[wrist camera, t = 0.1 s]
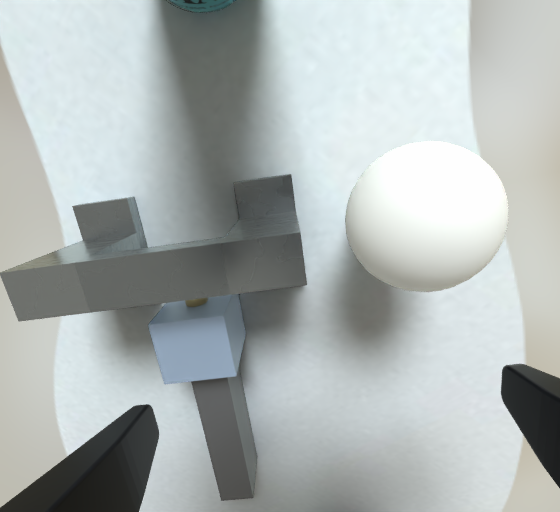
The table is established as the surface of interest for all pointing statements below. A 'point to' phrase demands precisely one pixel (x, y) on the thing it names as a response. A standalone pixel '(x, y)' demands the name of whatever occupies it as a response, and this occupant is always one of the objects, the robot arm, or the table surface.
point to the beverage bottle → (202, 5)
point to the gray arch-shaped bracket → (163, 258)
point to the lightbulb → (426, 216)
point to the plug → (211, 381)
